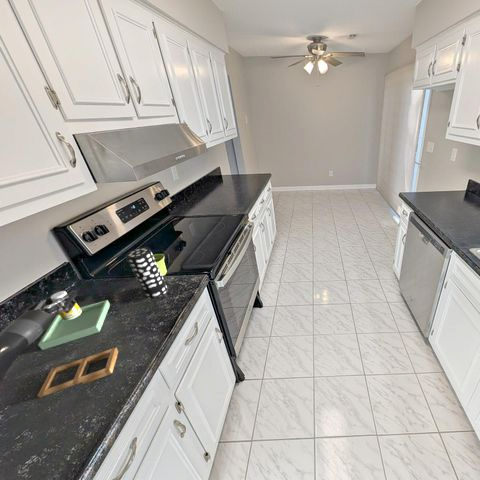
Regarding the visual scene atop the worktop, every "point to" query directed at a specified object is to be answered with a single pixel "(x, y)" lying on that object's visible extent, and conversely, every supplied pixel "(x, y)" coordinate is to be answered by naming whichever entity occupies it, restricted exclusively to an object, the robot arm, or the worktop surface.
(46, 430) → the worktop surface
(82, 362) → the bottle rack
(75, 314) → the supplement bottle
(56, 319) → the tray
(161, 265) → the plant pot
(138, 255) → the white-spotted black cylinder
